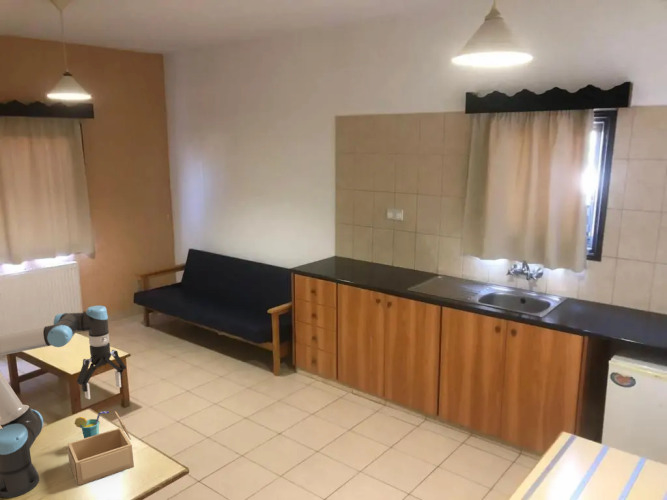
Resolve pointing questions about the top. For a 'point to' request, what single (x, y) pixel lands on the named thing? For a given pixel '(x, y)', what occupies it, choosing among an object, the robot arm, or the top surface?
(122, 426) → the flap
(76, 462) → the open wooden box
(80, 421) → the cup
